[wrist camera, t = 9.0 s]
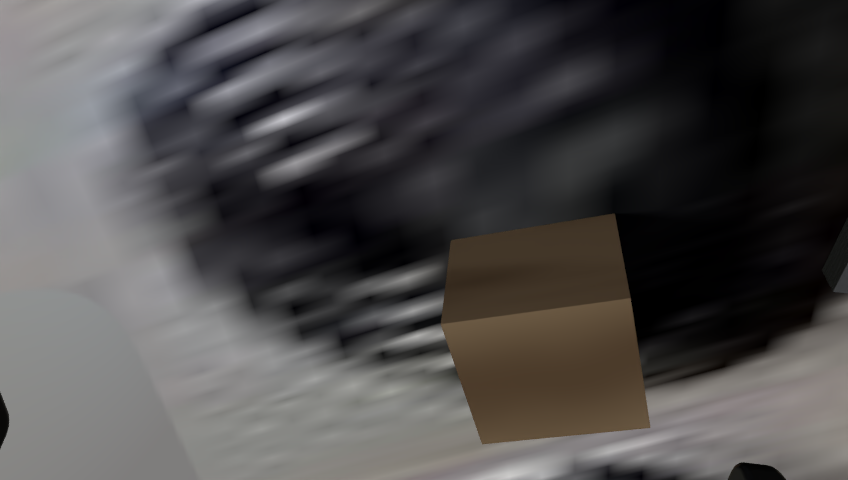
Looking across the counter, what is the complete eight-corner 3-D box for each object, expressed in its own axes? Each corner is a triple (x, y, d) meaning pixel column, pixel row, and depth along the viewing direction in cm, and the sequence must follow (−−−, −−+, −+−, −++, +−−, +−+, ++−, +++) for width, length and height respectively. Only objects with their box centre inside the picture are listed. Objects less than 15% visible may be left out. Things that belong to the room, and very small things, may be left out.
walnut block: (633, 333, 25) (650, 427, 22) (486, 351, 26) (481, 444, 23) (614, 211, 22) (630, 298, 19) (451, 237, 23) (441, 324, 20)
